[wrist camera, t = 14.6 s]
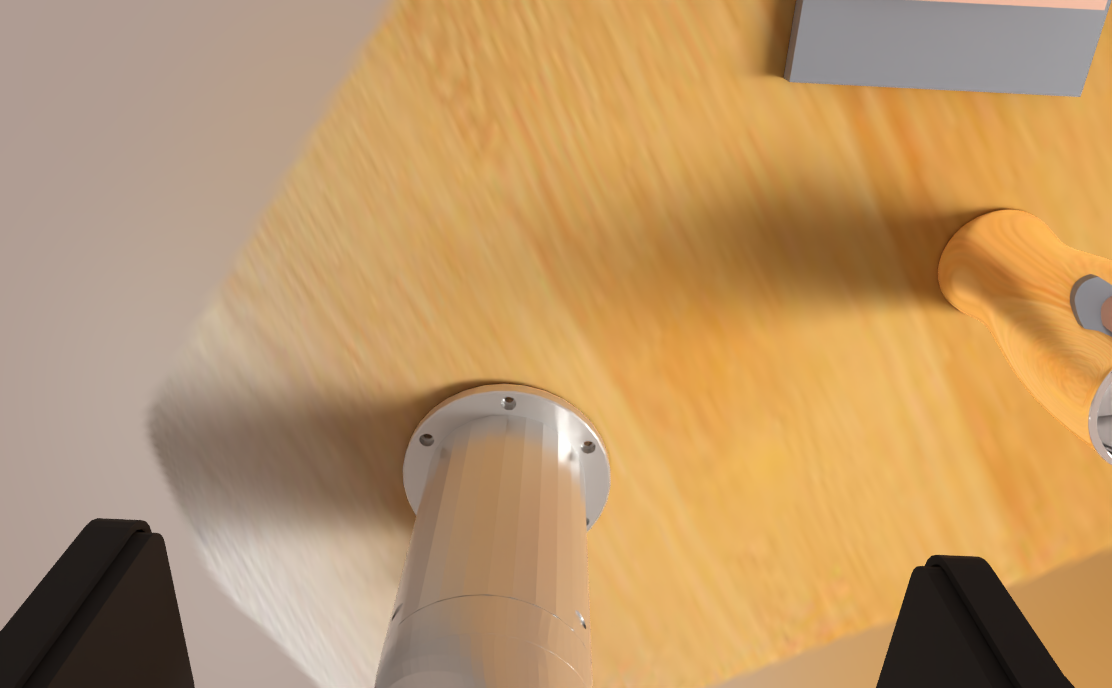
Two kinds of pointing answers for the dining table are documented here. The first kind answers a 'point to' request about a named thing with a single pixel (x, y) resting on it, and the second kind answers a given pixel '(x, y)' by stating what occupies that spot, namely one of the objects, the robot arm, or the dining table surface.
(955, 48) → the socket board
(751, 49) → the dining table surface
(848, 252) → the dining table surface
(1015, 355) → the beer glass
